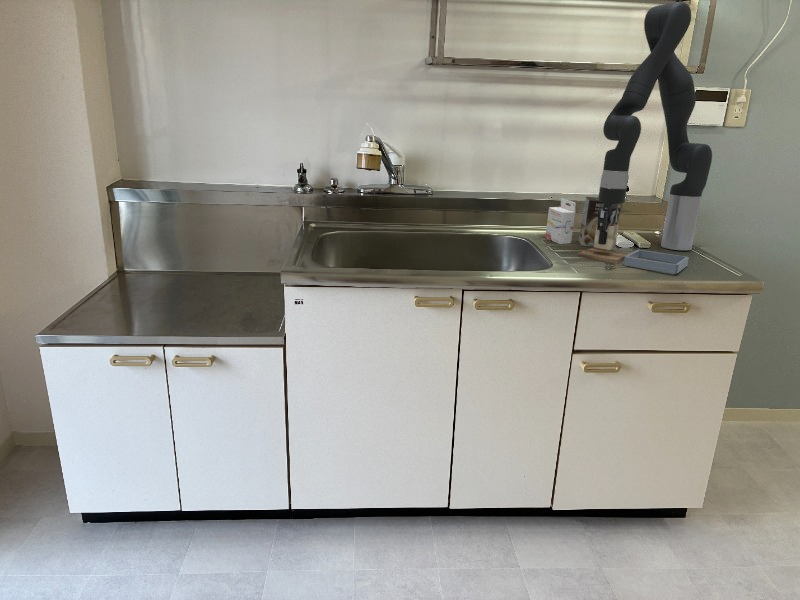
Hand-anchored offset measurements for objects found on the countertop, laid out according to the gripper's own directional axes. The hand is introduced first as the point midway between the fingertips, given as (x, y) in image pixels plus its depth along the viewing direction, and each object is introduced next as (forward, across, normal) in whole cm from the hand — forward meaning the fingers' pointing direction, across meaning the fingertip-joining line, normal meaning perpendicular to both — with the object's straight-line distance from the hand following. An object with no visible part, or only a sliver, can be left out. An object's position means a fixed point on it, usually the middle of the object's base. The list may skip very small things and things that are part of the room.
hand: (605, 242), depth 174 cm
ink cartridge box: (+5, -9, -18) cm, 21 cm away
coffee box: (+5, -13, -7) cm, 16 cm away
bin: (+5, -1, +15) cm, 16 cm away
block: (+1, 0, 0) cm, 1 cm away
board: (+5, 0, 0) cm, 5 cm away
